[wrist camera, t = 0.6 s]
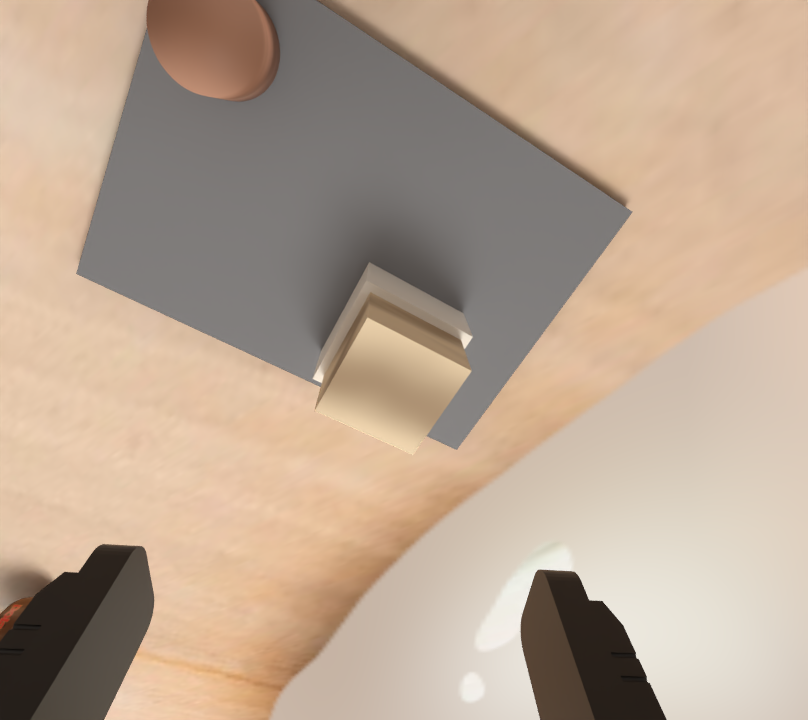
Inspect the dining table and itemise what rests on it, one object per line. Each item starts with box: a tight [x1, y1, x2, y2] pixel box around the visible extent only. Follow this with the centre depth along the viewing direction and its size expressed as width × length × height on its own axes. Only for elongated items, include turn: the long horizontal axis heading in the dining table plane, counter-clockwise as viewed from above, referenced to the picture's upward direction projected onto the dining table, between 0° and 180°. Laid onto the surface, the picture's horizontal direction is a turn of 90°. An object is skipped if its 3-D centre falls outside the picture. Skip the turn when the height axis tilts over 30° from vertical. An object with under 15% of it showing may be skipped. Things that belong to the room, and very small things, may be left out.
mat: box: [76, 0, 632, 450], centre depth 30 cm, size 20×28×1 cm
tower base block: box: [313, 262, 473, 383], centre depth 30 cm, size 7×7×4 cm
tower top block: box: [315, 292, 472, 455], centre depth 27 cm, size 6×6×4 cm
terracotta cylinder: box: [147, 0, 280, 102], centre depth 23 cm, size 5×5×4 cm
